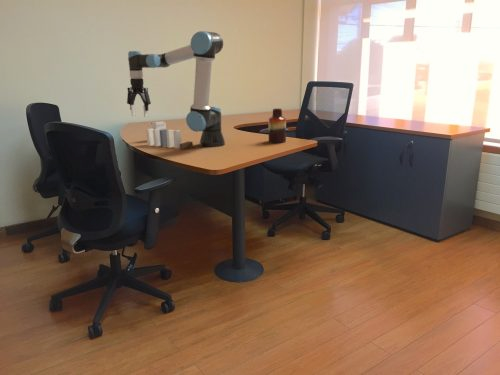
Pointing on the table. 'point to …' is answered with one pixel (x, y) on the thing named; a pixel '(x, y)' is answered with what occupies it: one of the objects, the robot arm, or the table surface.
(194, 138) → the table surface
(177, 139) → the domino
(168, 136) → the domino
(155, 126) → the ink box
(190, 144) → the block
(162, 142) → the domino
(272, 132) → the brown bottle
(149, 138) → the domino
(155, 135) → the domino
